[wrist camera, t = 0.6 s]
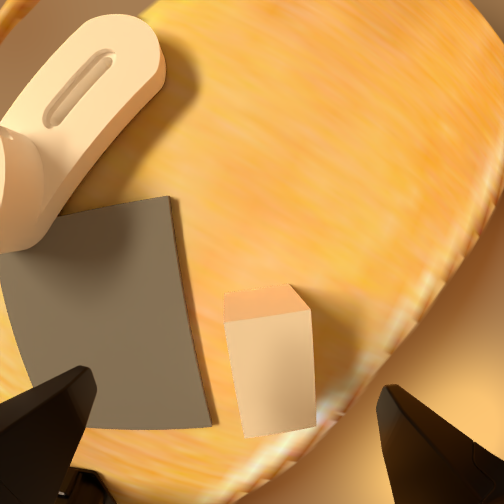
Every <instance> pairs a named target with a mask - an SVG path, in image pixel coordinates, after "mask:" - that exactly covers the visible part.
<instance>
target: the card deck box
mask: <svg viewBox="0 0 504 504" xmlns="http://www.w3.org/2000/svg"><path fill="white" fill-rule="evenodd" d="M224 328H225V334H226V340H227V346H228V352H229V358H230V363H231V369H232V375H233V380H234V386H235V391H236V397H237V402H238V407H239V412H240V418H241V423H242V428H243V433H244V438H252V437H259V436H266V435H273V434H279V433H284V432H290V431H295V430H300V429H305V428H310V427H315V426H316V396H315V372H314V352H313V336H312V321H311V309H310V308H309V307H308V306H307V304H306V303H305V302H304V301H303V300H302V299H301V297H300V296H299V295H298V294H297V293H296V292H295V290H294V289H293V288H292V287H291V286H290V285H289V284H283V285H276V286H269V287H262V288H255V289H248V290H241V291H234V292H226V293H224Z"/></svg>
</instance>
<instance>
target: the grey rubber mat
mask: <svg viewBox="0 0 504 504" xmlns="http://www.w3.org/2000/svg"><path fill="white" fill-rule="evenodd" d="M0 283H1V287H2V292H3V296H4V300H5V304H6V308H7V312H8V316H9V319H10V323H11V326H12V330H13V333H14V336H15V339H16V342H17V345H18V348H19V351H20V354H21V357H22V360H23V362H24V365H25V368H26V370H27V373H28V376H29V378H30V381H31V383H32V385H33V388H34V387H36V386H38V385H40V384H42V383H44V382H46V381H48V380H50V379H52V378H54V377H56V376H58V375H60V374H62V373H64V372H66V371H68V370H70V369H72V368H74V367H76V366H78V365H82V366H86V367H89V368H90V369H91V370H92V373H93V376H94V379H95V382H96V385H97V394H96V397H95V400H94V403H93V406H92V409H91V412H90V416H89V419H88V422H87V425H86V427H88V428H102V429H126V430H165V429H189V428H204V427H212V420H211V416H210V412H209V408H208V404H207V400H206V396H205V392H204V388H203V384H202V379H201V375H200V370H199V366H198V361H197V357H196V352H195V347H194V342H193V338H192V333H191V328H190V322H189V317H188V312H187V307H186V301H185V296H184V290H183V284H182V278H181V272H180V266H179V260H178V253H177V247H176V240H175V233H174V226H173V218H172V211H171V203H170V196H163V197H157V198H151V199H146V200H140V201H134V202H129V203H123V204H118V205H113V206H107V207H102V208H97V209H92V210H88V211H83V212H78V213H73V214H69V215H64V216H60V217H56V219H55V220H54V222H53V223H52V225H51V226H50V228H49V230H48V231H47V233H46V234H45V236H44V237H43V238H42V239H41V240H40V241H39V242H38V243H37V244H35V245H34V246H32V247H31V248H28V249H25V250H21V251H15V252H8V253H2V254H0Z"/></svg>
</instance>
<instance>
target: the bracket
mask: <svg viewBox="0 0 504 504" xmlns="http://www.w3.org/2000/svg"><path fill="white" fill-rule="evenodd" d="M165 76H166V64H165V59H164V55H163V53H162V50H161V47H160V44H159V42H158V39H157V37H156V35H155V33H154V31H153V30H152V29H151V27H150V26H149V25H148V24H146V23H145V22H144V21H142V20H140V19H138V18H136V17H133V16H129V15H122V14H110V15H103V16H99V17H96V18H92V19H90V20H88V21H87V22H85V23H84V24H83V25H82V26H81V27H79V28H78V29H77V30H76V31H75V33H73V34H72V35H71V36H70V37H69V38H68V39H67V40H66V41H65V42H64V43H63V44H62V45H61V46H60V48H59V49H58V50H57V51H56V52H55V53H54V54H53V55H52V56H51V57H50V58H49V59H48V61H47V62H46V63H45V64H44V65H43V66H42V67H41V69H40V70H39V71H38V72H37V74H36V75H35V76H34V77H33V78H32V80H31V81H30V82H29V83H28V85H27V86H26V87H25V88H24V90H23V91H22V92H21V94H20V95H19V96H18V98H17V99H16V100H15V102H14V103H13V105H12V106H11V107H10V109H9V110H8V112H7V113H6V115H5V116H4V118H3V119H2V121H1V122H0V254H2V253H8V252H15V251H21V250H25V249H28V248H31V247H32V246H34V245H35V244H37V243H38V242H39V241H40V240H41V239H42V238H43V237H44V236H45V234H46V233H47V231H48V230H49V228H50V226H51V225H52V223H53V222H54V220H55V219H56V217H57V216H58V214H59V212H60V211H61V209H62V208H63V206H64V205H65V204H66V202H67V201H68V199H69V198H70V196H71V195H72V193H73V192H74V191H75V189H76V188H77V186H78V185H79V184H80V182H81V181H82V180H83V178H84V177H85V176H86V174H87V173H88V172H89V170H90V169H91V168H92V166H93V165H94V164H95V162H96V161H97V160H98V159H99V157H100V156H101V155H102V154H103V152H104V151H105V150H106V149H107V148H108V146H109V145H110V144H111V143H112V142H113V140H114V139H115V138H116V137H117V136H118V134H119V133H120V132H121V131H122V130H123V129H124V128H125V126H126V125H127V124H128V123H129V122H130V121H131V120H132V119H133V118H134V116H135V115H136V114H137V113H138V112H139V111H140V110H141V109H142V108H143V107H144V106H145V105H146V104H147V103H148V102H149V101H150V100H151V99H152V98H153V97H154V95H155V94H156V93H157V92H158V91H159V90H160V89H161V88H162V86H163V85H164V82H165Z"/></svg>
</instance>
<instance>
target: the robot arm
mask: <svg viewBox="0 0 504 504" xmlns="http://www.w3.org/2000/svg"><path fill="white" fill-rule="evenodd" d="M96 394H97V385H96V382H95V379H94V376H93V373H92V370H91V369H90V368H89V367H86V366H82V365H78V366H76V367H74V368H72V369H70V370H68V371H66V372H64V373H62V374H60V375H58V376H56V377H54V378H52V379H50V380H48V381H46V382H44V383H42V384H40V385H38V386H36V387H34V388H32V389H30V390H27V391H25V392H23V393H21V394H19V395H17V396H15V397H13V398H11V399H9V400H7V401H5V402H3V403H0V504H117V503H116V502H115V500H114V499H113V497H112V496H111V494H110V493H109V491H108V490H107V488H106V487H105V485H104V484H103V482H102V481H101V479H100V477H99V476H98V474H97V473H96V472H94V471H91V470H84V469H77V468H71V467H69V466H70V463H71V461H72V459H73V456H74V454H75V452H76V449H77V447H78V444H79V442H80V440H81V438H82V435H83V433H84V430H85V428H86V425H87V422H88V419H89V416H90V412H91V409H92V406H93V403H94V400H95V397H96ZM376 412H377V419H378V425H379V431H380V439H381V446H382V452H383V457H384V461H385V464H386V468H387V472H388V476H389V480H390V485H391V489H392V493H393V497H394V502H395V504H504V461H503V460H501V459H500V458H498V457H496V456H495V455H493V454H491V453H490V452H489V451H487V450H486V449H484V448H483V447H482V446H480V445H479V444H477V443H476V442H473V440H472V439H470V438H469V437H468V436H466V435H465V434H463V433H462V432H461V431H459V430H458V429H457V428H455V427H454V426H452V425H451V424H450V423H448V422H447V421H446V420H444V419H443V418H442V417H440V416H439V415H438V414H436V413H435V412H434V411H432V410H431V409H430V408H428V407H427V406H425V405H424V404H423V403H421V402H420V401H419V400H417V399H416V398H415V397H413V396H412V395H411V394H409V393H408V392H407V391H405V390H404V389H403V388H401V387H400V386H399V385H397V384H391V385H385V386H384V387H383V389H382V391H381V394H380V397H379V399H378V402H377V406H376Z"/></svg>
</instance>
